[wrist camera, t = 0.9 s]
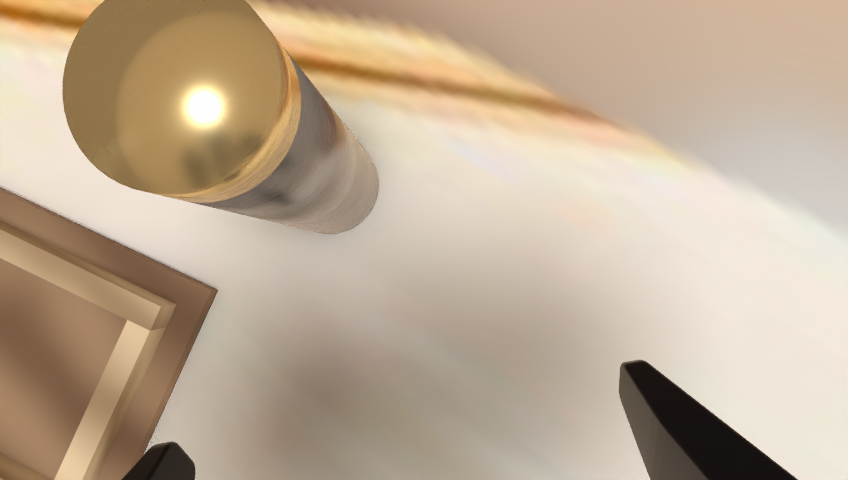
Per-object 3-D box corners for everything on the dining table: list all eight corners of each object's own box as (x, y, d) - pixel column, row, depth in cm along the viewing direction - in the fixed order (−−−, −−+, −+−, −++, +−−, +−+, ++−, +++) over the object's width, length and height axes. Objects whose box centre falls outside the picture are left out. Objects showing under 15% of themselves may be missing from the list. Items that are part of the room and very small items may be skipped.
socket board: (98, 553, 23) (67, 577, 21) (-135, 427, 24) (-183, 440, 22) (217, 290, 23) (197, 292, 21) (-19, 178, 24) (-57, 171, 22)
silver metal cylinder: (354, 249, 23) (219, 229, 10) (267, 210, 23) (26, 140, 10) (394, 159, 23) (314, 21, 10) (306, 122, 23) (119, -59, 10)
